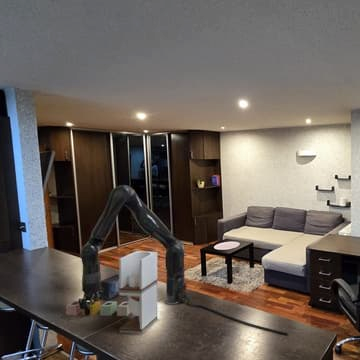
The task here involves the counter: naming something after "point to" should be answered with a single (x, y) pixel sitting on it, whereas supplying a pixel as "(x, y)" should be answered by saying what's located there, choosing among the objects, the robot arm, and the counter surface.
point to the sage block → (108, 308)
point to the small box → (110, 287)
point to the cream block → (123, 309)
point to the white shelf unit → (139, 289)
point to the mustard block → (93, 308)
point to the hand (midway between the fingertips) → (91, 312)
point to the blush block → (73, 308)
